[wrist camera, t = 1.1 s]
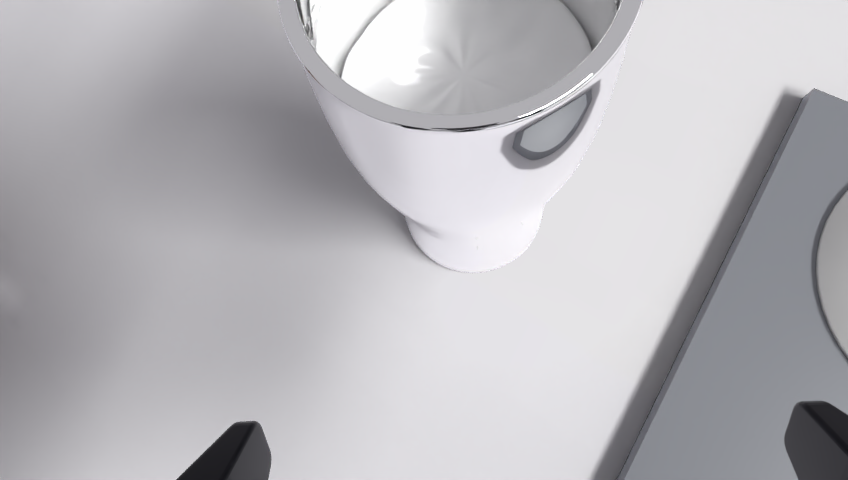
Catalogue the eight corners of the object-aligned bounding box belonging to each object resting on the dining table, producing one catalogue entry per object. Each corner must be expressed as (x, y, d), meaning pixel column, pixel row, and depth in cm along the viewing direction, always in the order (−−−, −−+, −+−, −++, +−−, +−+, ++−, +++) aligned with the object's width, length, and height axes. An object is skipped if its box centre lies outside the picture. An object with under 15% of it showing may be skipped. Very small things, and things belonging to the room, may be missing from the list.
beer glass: (364, 217, 24) (187, -4, 10) (462, 105, 25) (433, -255, 11) (484, 317, 23) (484, 228, 8) (586, 194, 24) (749, -86, 9)
